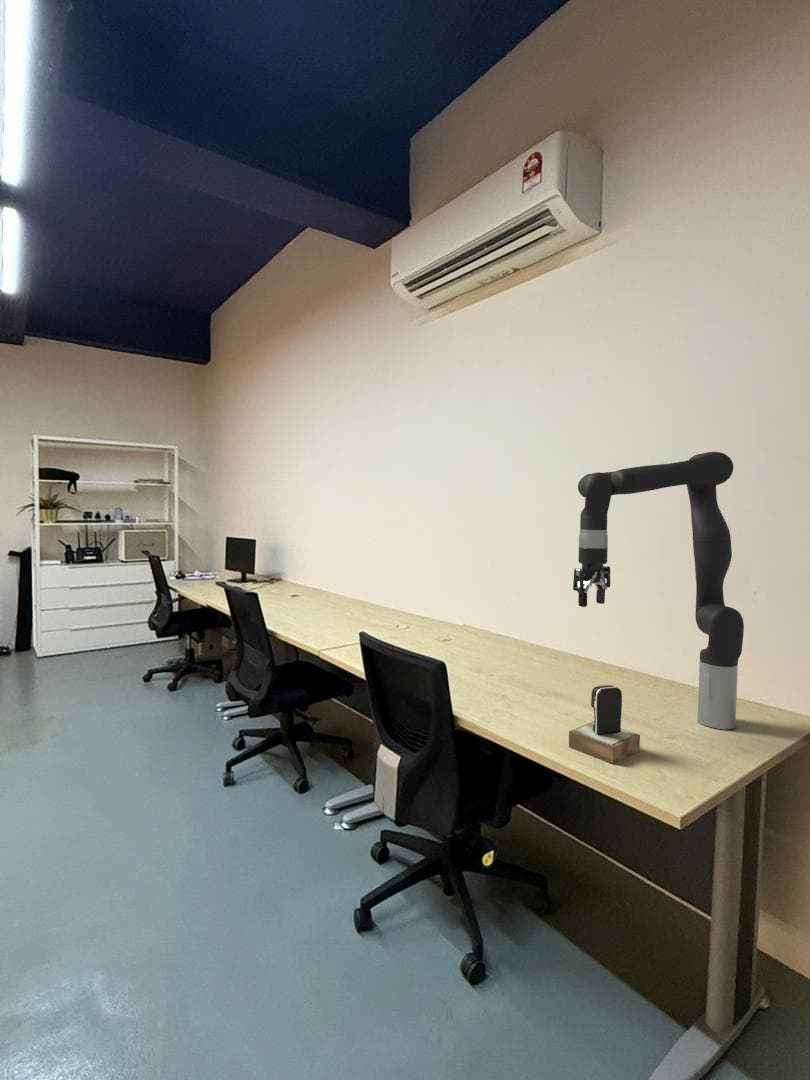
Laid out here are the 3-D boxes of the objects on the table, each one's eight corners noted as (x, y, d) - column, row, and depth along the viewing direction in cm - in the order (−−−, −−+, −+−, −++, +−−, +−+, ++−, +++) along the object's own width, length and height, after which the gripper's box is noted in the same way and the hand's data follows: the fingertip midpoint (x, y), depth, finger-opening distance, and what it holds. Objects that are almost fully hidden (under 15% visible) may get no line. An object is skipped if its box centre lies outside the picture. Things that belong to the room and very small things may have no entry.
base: (595, 735, 145) (596, 719, 145) (639, 750, 135) (639, 733, 135) (568, 747, 137) (569, 730, 137) (612, 764, 128) (613, 746, 128)
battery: (612, 727, 139) (613, 682, 139) (622, 733, 135) (623, 687, 135) (588, 730, 137) (589, 684, 137) (597, 736, 134) (598, 689, 133)
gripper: (595, 544, 158) (594, 600, 159) (565, 546, 149) (564, 605, 150) (619, 546, 152) (618, 604, 153) (590, 547, 143) (588, 609, 144)
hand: (591, 604), depth 152 cm, fingers open, 8 cm apart
